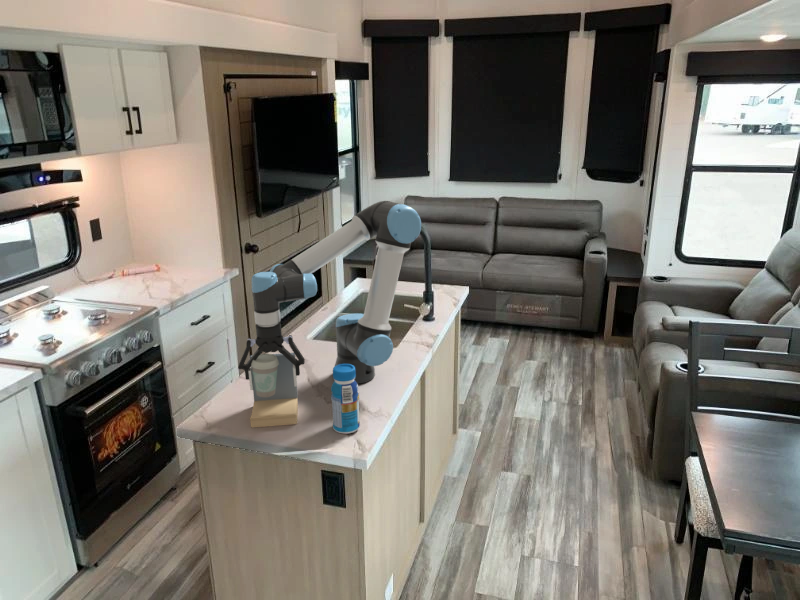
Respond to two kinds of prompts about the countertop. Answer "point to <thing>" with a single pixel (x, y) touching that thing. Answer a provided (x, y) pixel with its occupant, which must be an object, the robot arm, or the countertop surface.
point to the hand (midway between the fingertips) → (274, 386)
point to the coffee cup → (265, 374)
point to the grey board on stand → (277, 399)
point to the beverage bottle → (345, 399)
